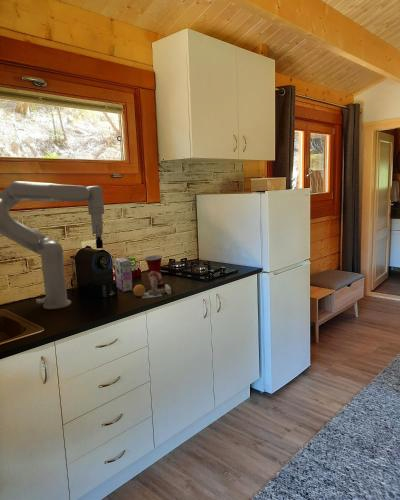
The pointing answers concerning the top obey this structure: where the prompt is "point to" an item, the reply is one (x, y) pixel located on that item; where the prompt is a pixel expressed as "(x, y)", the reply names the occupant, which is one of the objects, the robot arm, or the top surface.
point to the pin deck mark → (146, 295)
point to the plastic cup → (154, 263)
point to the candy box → (123, 274)
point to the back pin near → (154, 287)
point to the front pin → (160, 291)
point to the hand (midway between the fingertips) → (99, 248)
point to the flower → (156, 275)
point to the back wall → (168, 289)
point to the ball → (139, 290)
